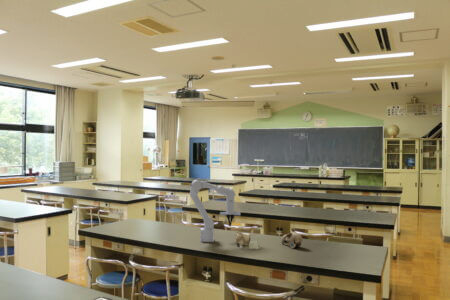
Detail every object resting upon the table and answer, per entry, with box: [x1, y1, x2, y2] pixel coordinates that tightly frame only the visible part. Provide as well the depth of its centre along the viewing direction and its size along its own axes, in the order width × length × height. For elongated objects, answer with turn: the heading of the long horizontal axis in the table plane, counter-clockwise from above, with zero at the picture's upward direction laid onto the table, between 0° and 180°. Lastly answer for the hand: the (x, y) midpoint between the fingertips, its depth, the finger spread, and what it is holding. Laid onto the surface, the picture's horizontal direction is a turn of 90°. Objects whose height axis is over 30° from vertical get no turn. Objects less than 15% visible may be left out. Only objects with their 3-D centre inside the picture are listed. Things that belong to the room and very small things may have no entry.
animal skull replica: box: [280, 231, 304, 249], centre depth 233 cm, size 8×17×10 cm, turn 39°
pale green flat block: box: [238, 240, 260, 250], centre depth 235 cm, size 13×20×2 cm, turn 0°
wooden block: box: [234, 232, 251, 246], centre depth 235 cm, size 5×8×9 cm
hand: (230, 225), depth 248 cm, fingers closed
